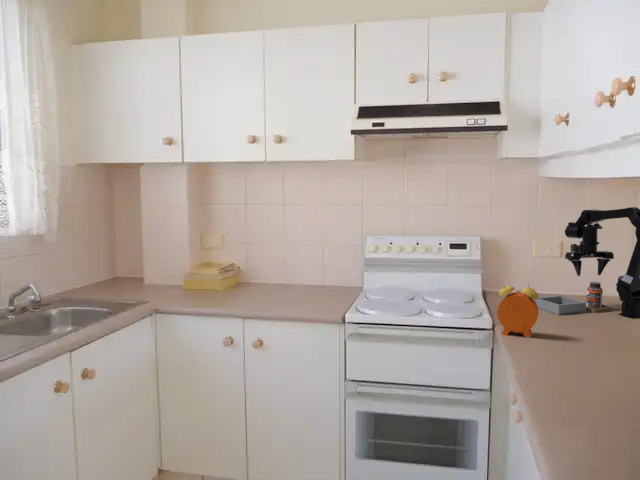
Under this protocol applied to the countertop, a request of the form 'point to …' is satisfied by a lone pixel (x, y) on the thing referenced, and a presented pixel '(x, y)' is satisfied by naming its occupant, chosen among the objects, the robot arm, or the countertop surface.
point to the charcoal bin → (561, 305)
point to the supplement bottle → (594, 295)
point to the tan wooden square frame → (600, 309)
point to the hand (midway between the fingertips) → (588, 275)
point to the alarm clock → (518, 310)
